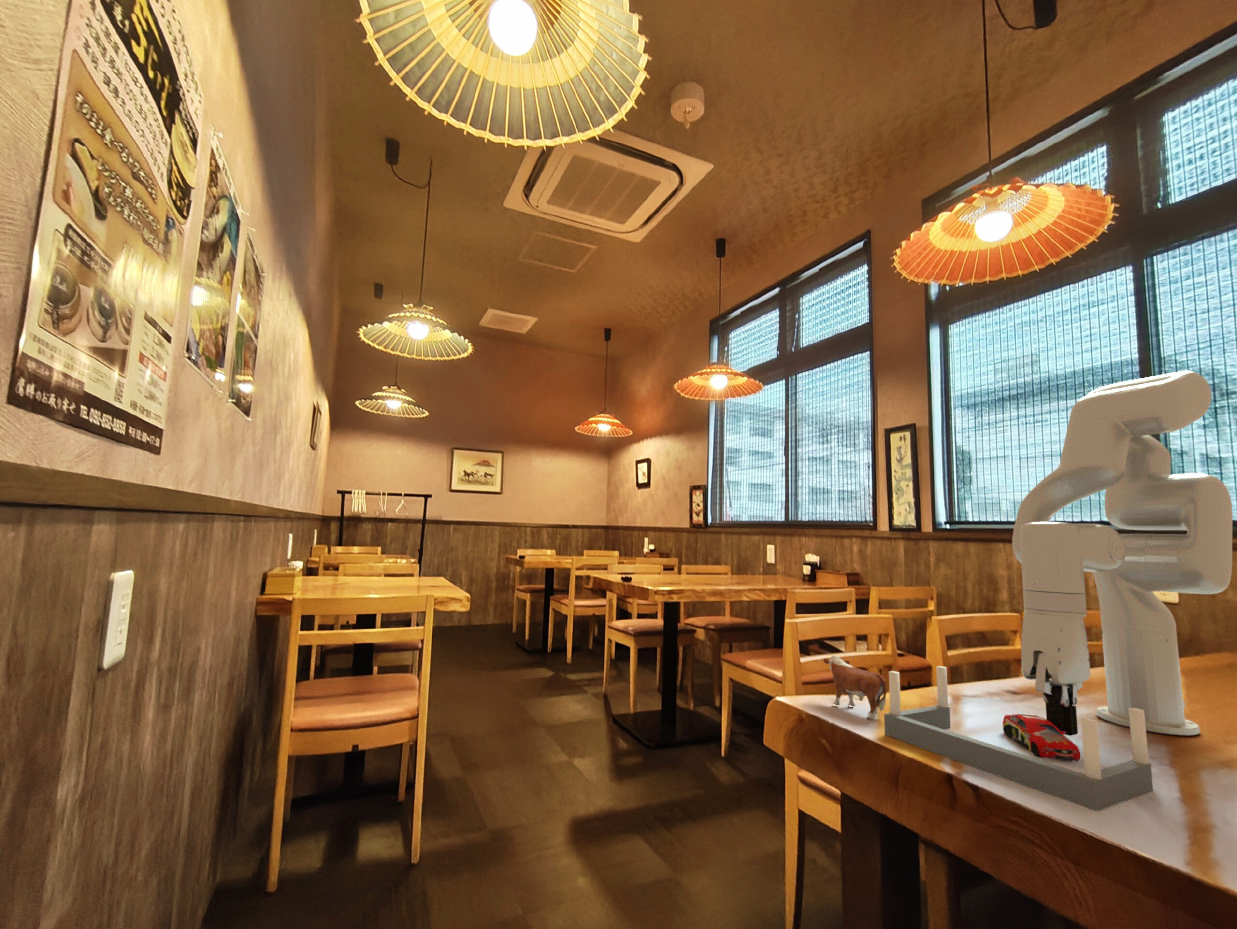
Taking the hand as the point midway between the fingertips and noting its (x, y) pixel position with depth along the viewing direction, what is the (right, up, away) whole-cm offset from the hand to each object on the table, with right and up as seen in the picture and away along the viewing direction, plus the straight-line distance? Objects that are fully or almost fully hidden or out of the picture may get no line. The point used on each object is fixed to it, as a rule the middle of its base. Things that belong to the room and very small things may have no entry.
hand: (1062, 731), depth 82 cm
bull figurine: (-25, -3, +14) cm, 29 cm away
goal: (-13, 0, -7) cm, 15 cm away
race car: (-5, -2, -2) cm, 5 cm away
